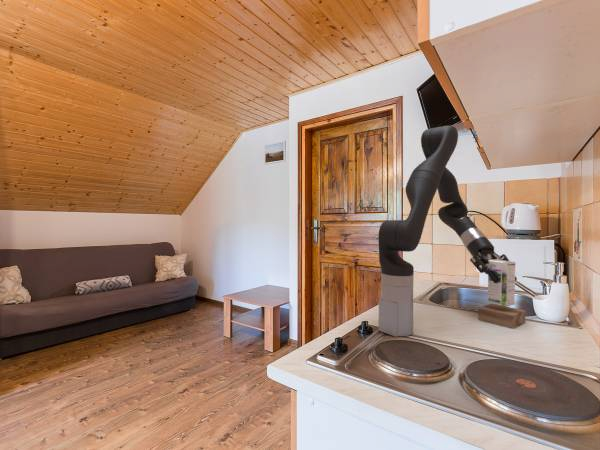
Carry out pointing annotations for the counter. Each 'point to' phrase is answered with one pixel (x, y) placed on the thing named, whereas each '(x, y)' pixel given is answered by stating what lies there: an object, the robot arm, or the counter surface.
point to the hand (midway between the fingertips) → (506, 281)
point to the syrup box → (502, 283)
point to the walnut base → (501, 315)
